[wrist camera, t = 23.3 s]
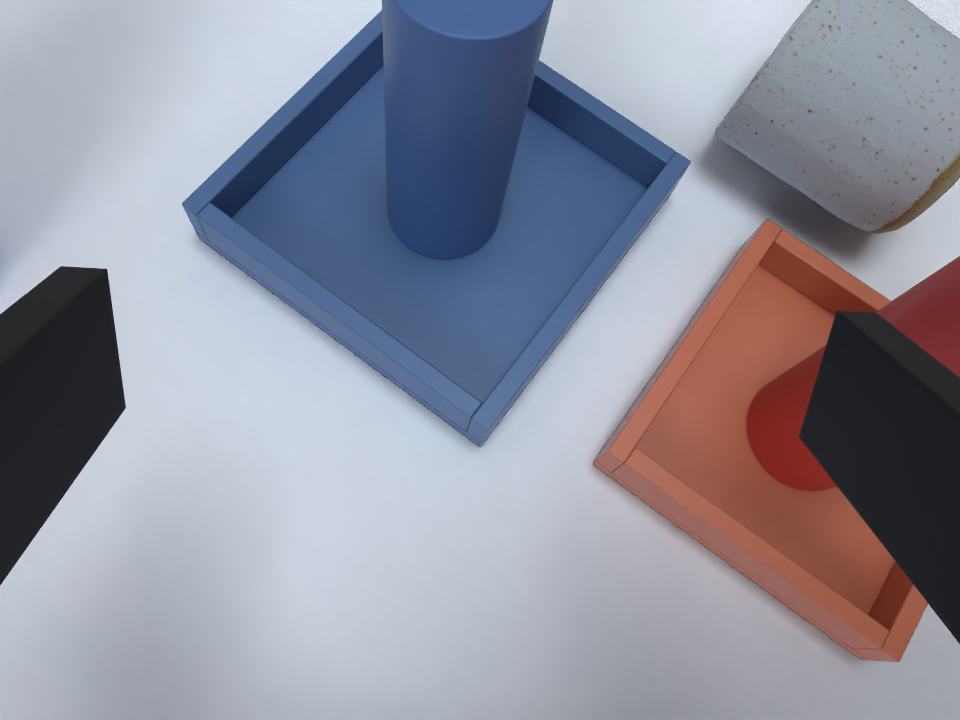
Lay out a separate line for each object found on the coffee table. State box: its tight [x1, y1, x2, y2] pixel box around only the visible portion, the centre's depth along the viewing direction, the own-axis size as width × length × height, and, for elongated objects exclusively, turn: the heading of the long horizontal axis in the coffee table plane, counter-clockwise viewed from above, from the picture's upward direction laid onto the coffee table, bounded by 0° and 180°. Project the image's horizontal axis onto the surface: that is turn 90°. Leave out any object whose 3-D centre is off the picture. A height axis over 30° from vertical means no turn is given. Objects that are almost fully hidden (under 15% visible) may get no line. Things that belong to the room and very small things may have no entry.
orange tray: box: [593, 219, 928, 662], centre depth 29 cm, size 11×11×2 cm
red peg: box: [747, 256, 960, 491], centre depth 24 cm, size 4×4×12 cm
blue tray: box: [182, 11, 691, 446], centre depth 30 cm, size 13×13×3 cm
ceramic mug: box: [715, 0, 960, 233], centre depth 31 cm, size 11×8×8 cm
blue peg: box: [382, 0, 553, 259], centre depth 25 cm, size 4×4×12 cm
